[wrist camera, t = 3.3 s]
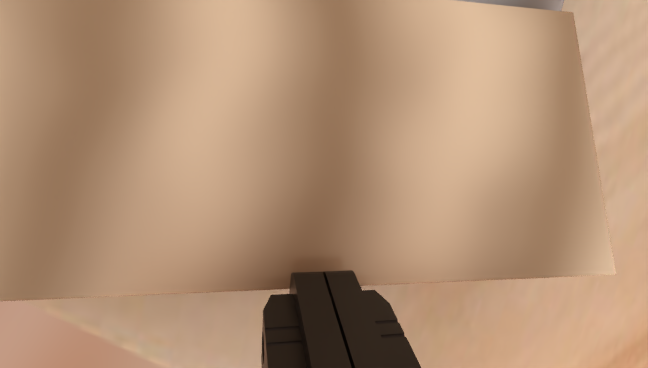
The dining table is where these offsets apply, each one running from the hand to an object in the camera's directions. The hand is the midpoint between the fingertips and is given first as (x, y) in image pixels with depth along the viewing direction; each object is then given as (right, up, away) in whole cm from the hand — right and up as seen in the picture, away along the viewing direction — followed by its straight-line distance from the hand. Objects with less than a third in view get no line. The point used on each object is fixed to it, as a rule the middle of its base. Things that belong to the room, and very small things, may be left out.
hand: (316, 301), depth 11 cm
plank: (0, +4, +2) cm, 5 cm away
